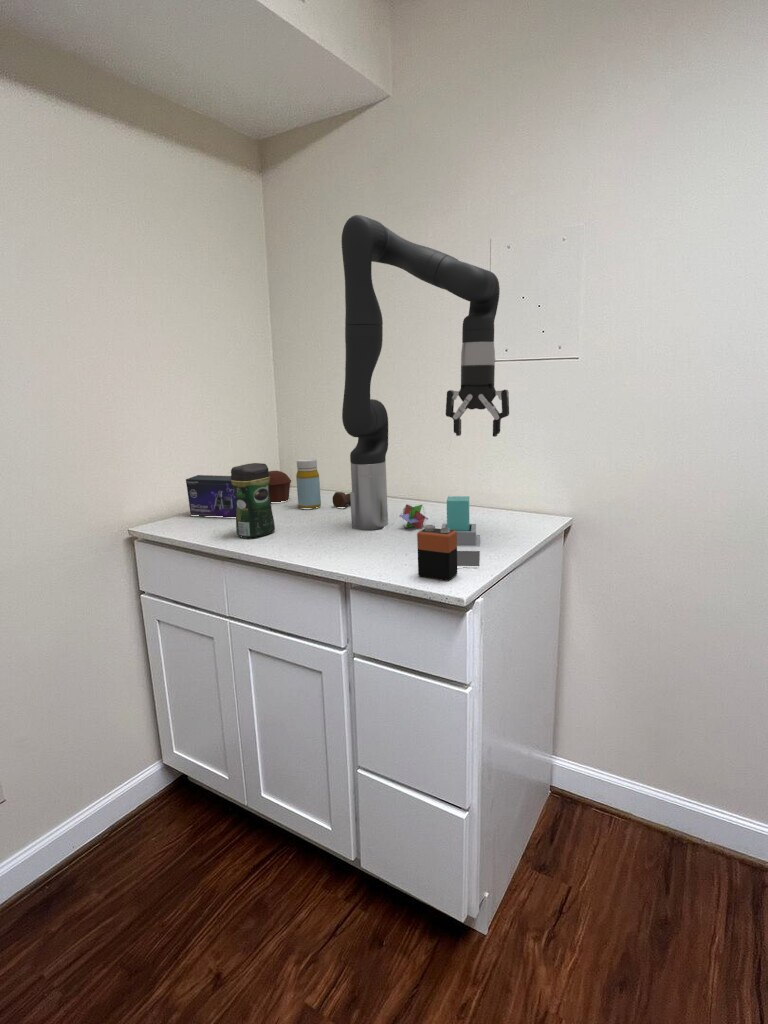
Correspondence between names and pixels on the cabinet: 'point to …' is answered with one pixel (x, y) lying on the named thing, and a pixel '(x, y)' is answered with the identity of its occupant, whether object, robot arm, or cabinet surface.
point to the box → (211, 496)
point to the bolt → (341, 499)
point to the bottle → (308, 483)
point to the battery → (437, 552)
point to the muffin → (279, 486)
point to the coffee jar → (252, 500)
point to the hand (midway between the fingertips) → (476, 435)
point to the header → (467, 537)
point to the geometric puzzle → (413, 516)
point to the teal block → (458, 513)
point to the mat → (468, 558)
